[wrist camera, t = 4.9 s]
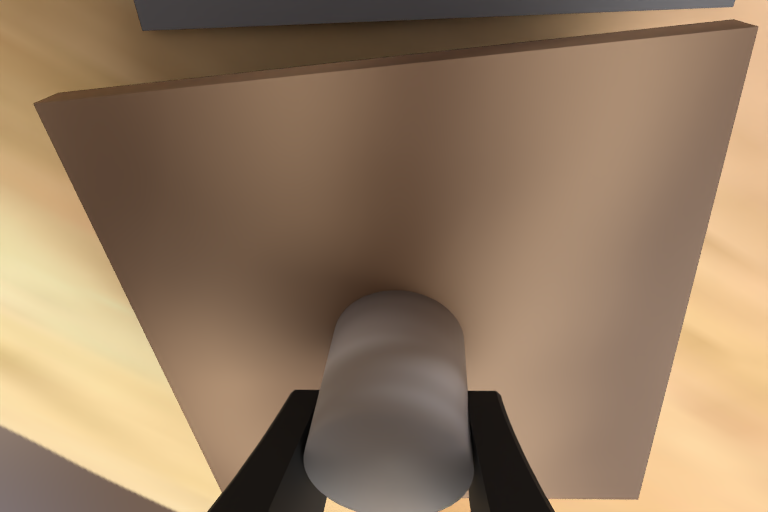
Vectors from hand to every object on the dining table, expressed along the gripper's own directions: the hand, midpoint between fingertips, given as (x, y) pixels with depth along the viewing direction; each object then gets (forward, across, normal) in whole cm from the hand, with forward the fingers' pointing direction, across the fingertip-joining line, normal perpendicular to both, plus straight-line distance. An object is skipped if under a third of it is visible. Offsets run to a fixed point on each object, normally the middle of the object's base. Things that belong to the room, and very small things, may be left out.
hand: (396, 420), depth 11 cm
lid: (+2, 0, -1) cm, 3 cm away
